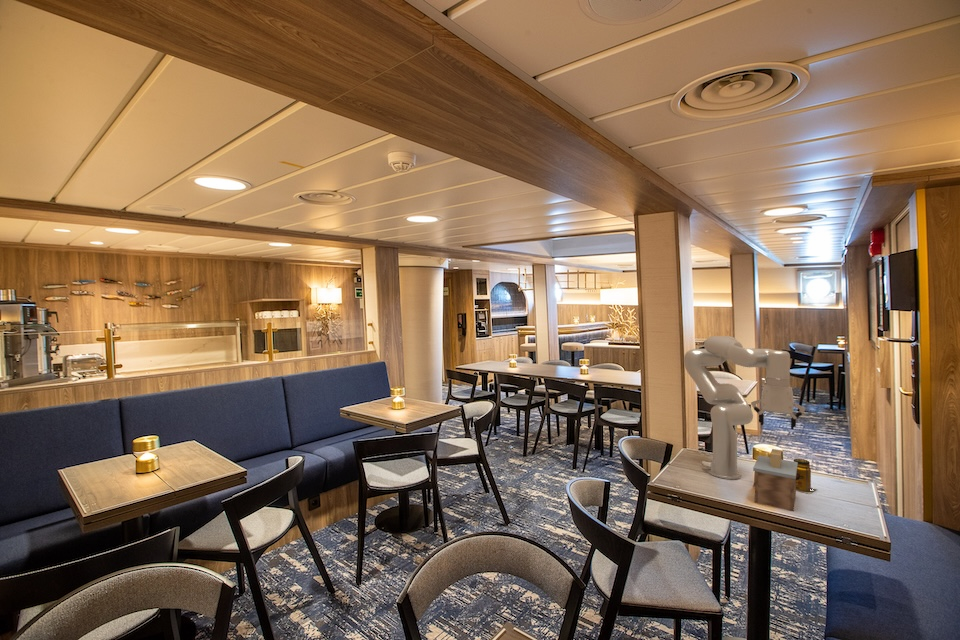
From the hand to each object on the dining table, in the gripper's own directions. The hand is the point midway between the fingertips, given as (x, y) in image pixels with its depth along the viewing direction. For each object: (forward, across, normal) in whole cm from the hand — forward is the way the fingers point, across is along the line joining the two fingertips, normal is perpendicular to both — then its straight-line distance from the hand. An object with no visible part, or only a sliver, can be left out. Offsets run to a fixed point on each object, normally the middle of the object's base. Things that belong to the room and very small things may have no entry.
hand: (776, 426), depth 167 cm
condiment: (+28, +8, +19) cm, 35 cm away
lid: (+17, 0, 0) cm, 17 cm away
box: (+28, 0, 0) cm, 28 cm away
